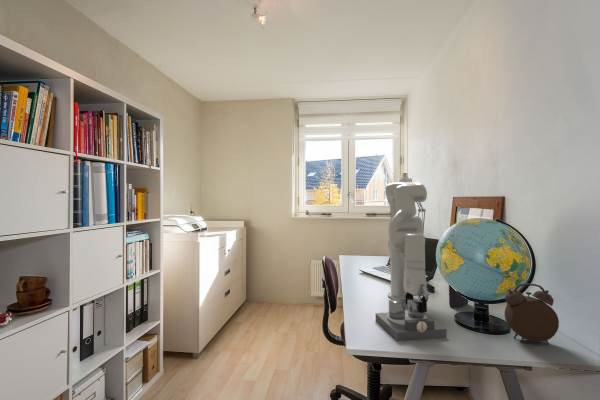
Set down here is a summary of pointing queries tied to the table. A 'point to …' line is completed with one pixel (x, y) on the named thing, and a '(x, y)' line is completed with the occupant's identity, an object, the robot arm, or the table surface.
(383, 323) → the scale
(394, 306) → the cylinder
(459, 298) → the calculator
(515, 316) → the alarm clock
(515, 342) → the table surface
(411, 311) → the cylinder
